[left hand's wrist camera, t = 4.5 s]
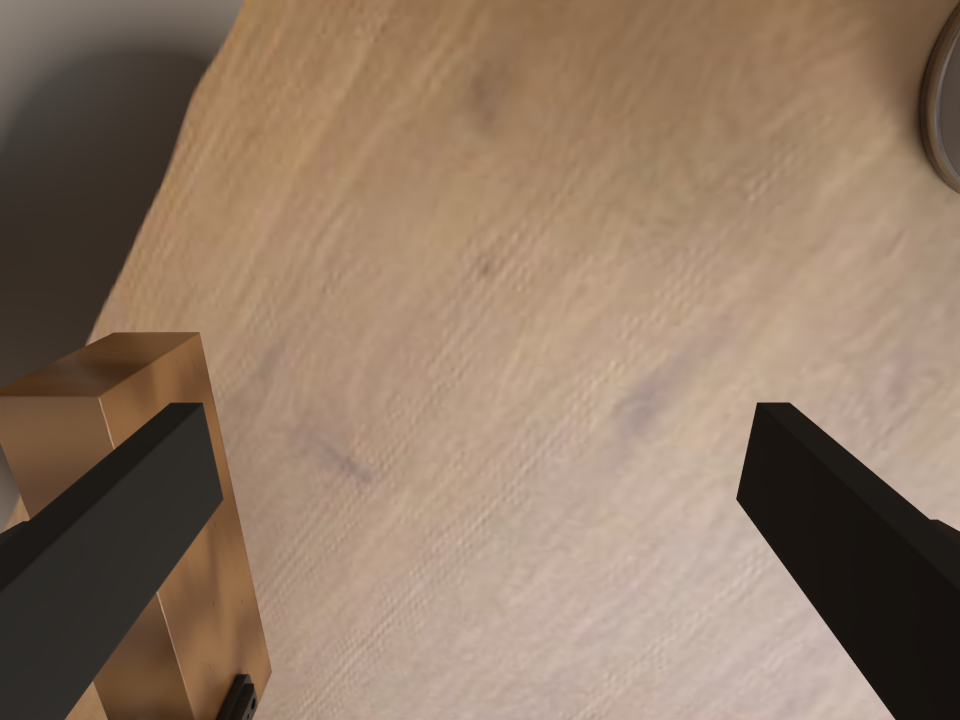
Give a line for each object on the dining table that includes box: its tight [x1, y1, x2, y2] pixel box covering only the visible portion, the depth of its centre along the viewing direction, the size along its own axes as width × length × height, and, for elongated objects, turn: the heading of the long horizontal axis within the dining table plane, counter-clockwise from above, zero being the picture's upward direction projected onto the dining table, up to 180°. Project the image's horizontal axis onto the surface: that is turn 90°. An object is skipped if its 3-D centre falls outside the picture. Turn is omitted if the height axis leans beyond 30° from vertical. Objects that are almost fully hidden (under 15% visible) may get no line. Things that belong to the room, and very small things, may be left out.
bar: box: [0, 332, 272, 720], centre depth 31 cm, size 27×5×8 cm, turn 0°
